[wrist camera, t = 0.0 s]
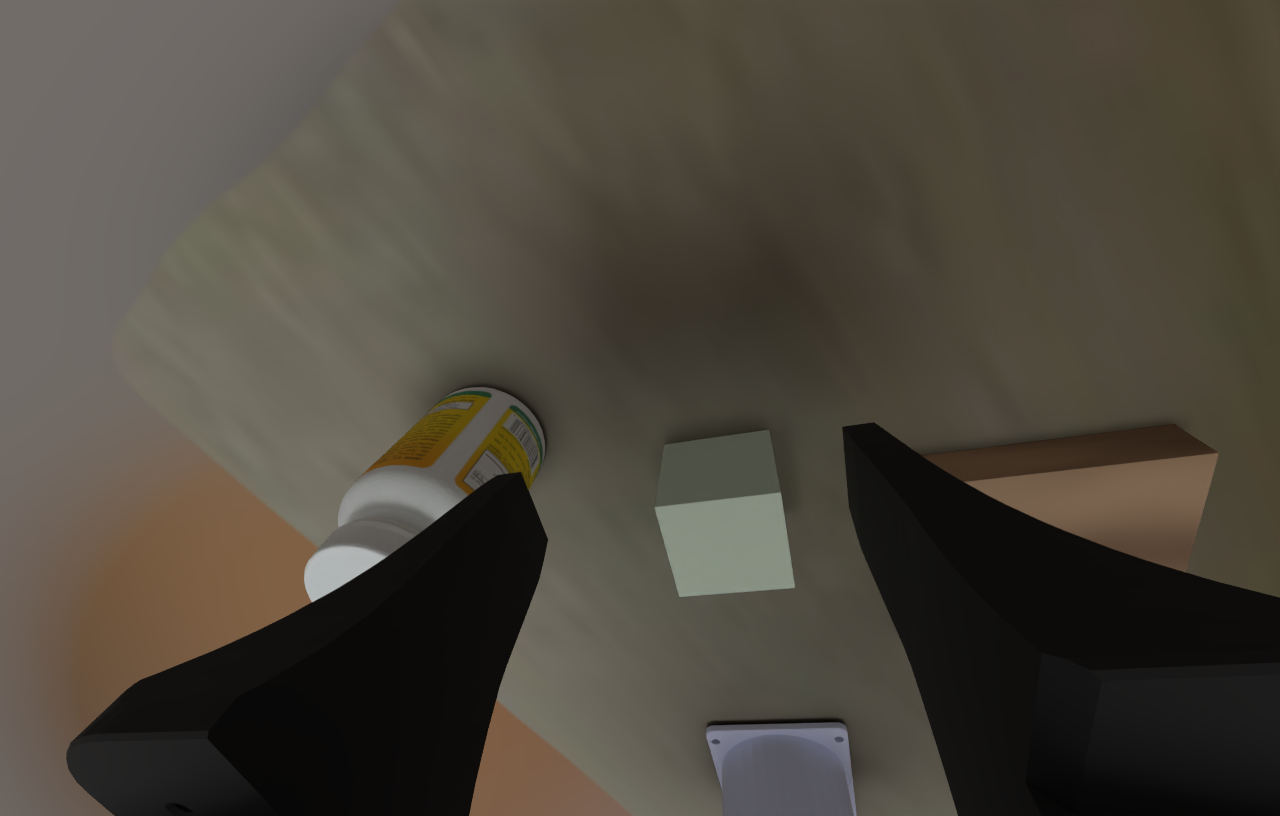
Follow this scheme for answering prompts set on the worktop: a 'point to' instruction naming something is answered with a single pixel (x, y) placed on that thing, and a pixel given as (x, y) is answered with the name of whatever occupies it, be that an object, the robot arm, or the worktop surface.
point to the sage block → (723, 515)
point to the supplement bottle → (426, 480)
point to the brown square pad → (1102, 486)
